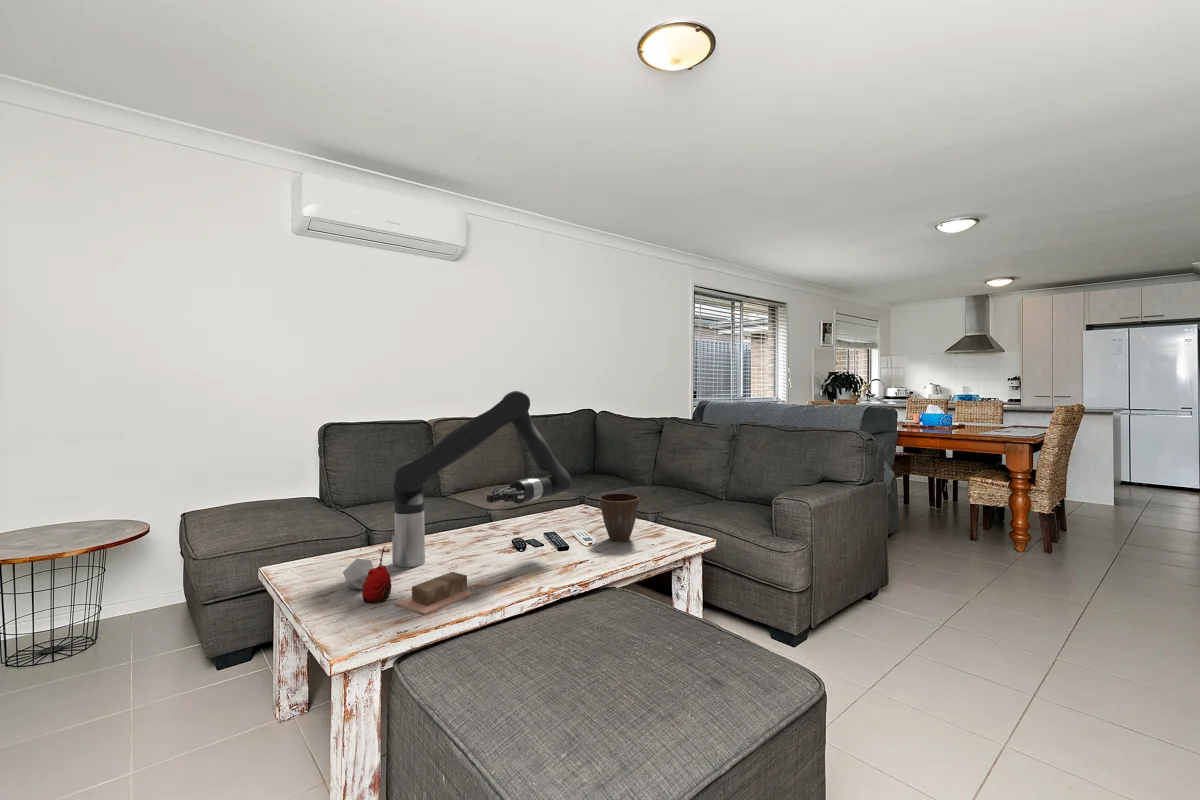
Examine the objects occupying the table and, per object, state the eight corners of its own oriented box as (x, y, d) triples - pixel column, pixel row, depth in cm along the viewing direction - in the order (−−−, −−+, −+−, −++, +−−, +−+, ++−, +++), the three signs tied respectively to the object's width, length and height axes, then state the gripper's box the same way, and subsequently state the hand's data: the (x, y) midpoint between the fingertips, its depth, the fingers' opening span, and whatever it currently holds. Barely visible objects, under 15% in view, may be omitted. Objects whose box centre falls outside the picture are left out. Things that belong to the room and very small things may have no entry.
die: (347, 597, 153) (369, 569, 154) (331, 577, 157) (352, 549, 158) (367, 597, 160) (388, 570, 161) (351, 578, 164) (372, 552, 165)
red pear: (380, 592, 155) (379, 539, 154) (397, 597, 152) (397, 543, 151) (356, 602, 148) (356, 546, 148) (375, 607, 145) (374, 550, 144)
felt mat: (442, 586, 160) (442, 584, 160) (471, 594, 153) (471, 592, 153) (395, 604, 146) (395, 602, 146) (425, 614, 140) (425, 612, 140)
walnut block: (452, 571, 159) (411, 586, 147) (466, 575, 156) (426, 591, 144) (452, 585, 159) (412, 601, 147) (467, 589, 156) (427, 606, 144)
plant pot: (626, 547, 197) (626, 502, 197) (591, 541, 206) (591, 498, 205) (646, 537, 210) (646, 495, 210) (612, 532, 218) (612, 491, 218)
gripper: (511, 477, 185) (472, 484, 170) (541, 481, 177) (504, 489, 163) (511, 499, 185) (472, 508, 170) (541, 504, 178) (504, 514, 163)
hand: (488, 499), depth 167 cm, fingers closed
